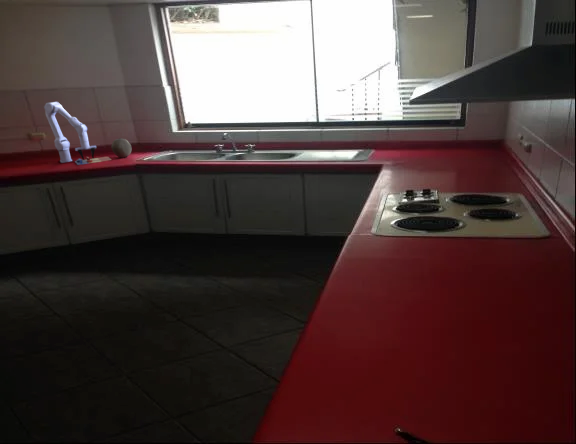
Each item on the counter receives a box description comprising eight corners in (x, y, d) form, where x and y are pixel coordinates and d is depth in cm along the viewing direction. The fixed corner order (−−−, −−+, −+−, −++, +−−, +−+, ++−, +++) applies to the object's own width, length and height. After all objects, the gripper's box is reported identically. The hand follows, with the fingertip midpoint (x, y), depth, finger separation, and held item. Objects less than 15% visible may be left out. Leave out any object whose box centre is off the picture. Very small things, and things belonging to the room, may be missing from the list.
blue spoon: (84, 163, 311) (83, 159, 310) (78, 163, 309) (77, 160, 308) (82, 160, 320) (81, 157, 319) (76, 161, 318) (75, 158, 317)
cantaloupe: (114, 157, 329) (110, 138, 323) (133, 155, 332) (129, 136, 327) (113, 160, 316) (109, 141, 311) (132, 158, 320) (129, 139, 314)
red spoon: (85, 160, 320) (84, 157, 319) (90, 159, 322) (89, 156, 321) (87, 162, 311) (86, 159, 310) (93, 162, 313) (92, 158, 312)
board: (74, 161, 319) (74, 161, 319) (107, 156, 331) (107, 156, 331) (77, 165, 306) (77, 164, 306) (112, 160, 318) (111, 159, 318)
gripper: (74, 143, 306) (78, 161, 311) (95, 140, 313) (99, 158, 318) (73, 141, 312) (77, 159, 316) (93, 139, 319) (97, 156, 324)
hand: (88, 158), depth 318 cm, fingers open, 6 cm apart
